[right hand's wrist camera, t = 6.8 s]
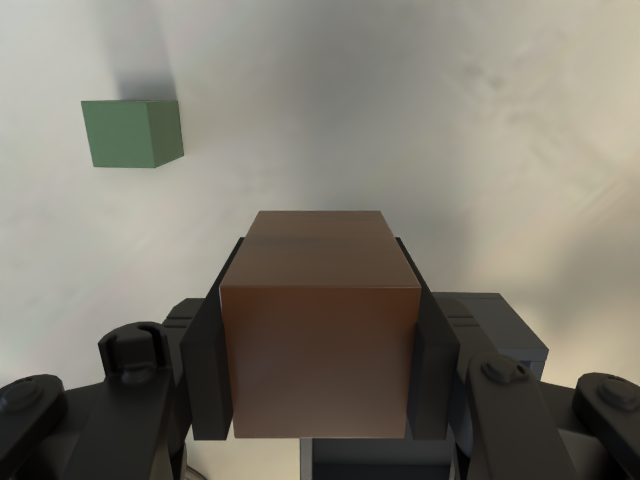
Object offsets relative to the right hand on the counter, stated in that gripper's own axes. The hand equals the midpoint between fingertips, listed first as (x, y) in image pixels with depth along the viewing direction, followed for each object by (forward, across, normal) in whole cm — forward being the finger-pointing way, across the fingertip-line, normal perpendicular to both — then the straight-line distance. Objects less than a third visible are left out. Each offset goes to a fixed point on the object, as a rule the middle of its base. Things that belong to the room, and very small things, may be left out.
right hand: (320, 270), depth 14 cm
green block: (+20, +14, -4) cm, 25 cm away
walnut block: (0, 0, 0) cm, 0 cm away
